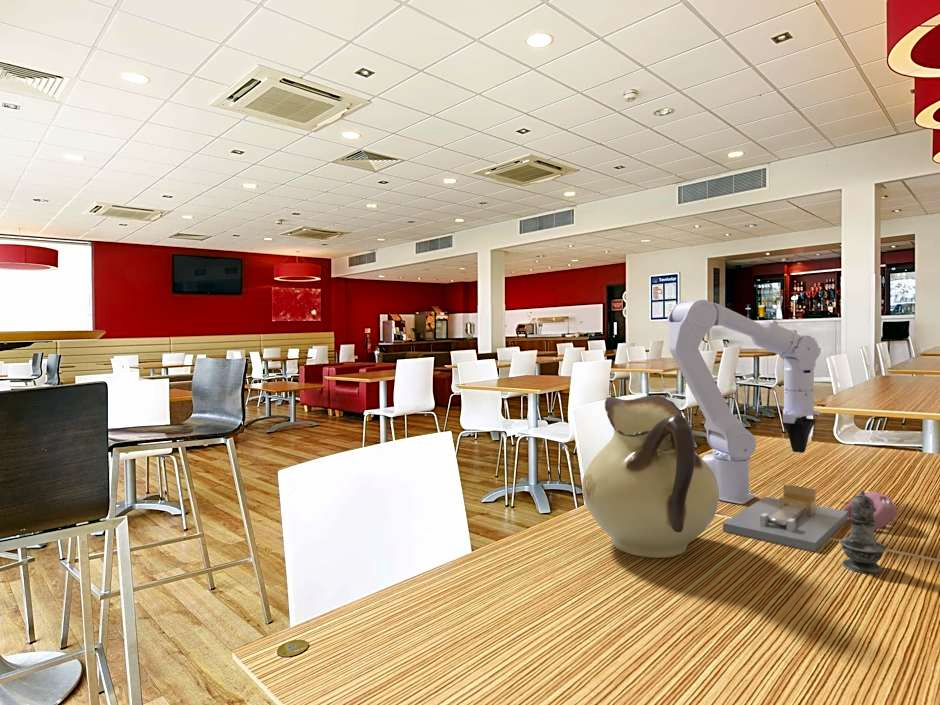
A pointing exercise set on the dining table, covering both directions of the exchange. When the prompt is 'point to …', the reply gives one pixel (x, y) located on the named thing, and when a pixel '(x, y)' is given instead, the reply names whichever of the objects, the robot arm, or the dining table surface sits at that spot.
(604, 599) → the dining table surface
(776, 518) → the silver flat bar
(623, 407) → the pitcher
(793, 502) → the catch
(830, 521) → the base board
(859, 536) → the grey stone finial
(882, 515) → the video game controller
